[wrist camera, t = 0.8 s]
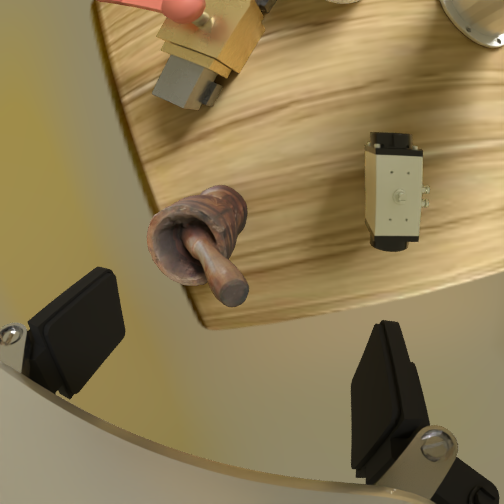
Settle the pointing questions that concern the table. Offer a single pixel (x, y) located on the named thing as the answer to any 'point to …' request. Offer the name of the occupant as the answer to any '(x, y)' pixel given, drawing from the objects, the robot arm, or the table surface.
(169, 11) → the lever
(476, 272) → the table surface
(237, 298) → the mortar and pestle
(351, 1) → the cylinder with rectangular tab
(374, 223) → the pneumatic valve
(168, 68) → the valve pipe
